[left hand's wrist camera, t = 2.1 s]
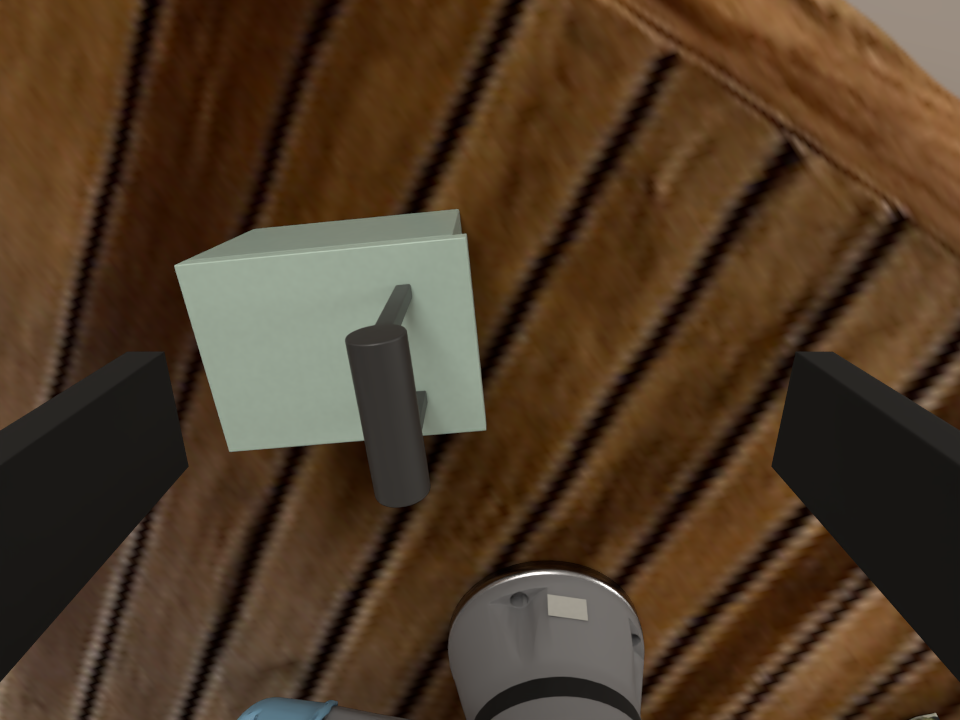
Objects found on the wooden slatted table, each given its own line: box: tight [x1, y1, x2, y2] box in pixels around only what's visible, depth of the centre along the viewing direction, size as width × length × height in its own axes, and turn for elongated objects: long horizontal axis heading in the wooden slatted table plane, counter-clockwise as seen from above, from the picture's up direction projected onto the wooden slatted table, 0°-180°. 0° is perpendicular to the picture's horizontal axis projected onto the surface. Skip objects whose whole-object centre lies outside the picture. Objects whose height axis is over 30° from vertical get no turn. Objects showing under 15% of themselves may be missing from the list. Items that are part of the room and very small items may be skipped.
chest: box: [186, 209, 462, 261], centre depth 32 cm, size 12×10×9 cm
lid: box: [174, 234, 486, 507], centre depth 24 cm, size 13×10×9 cm
